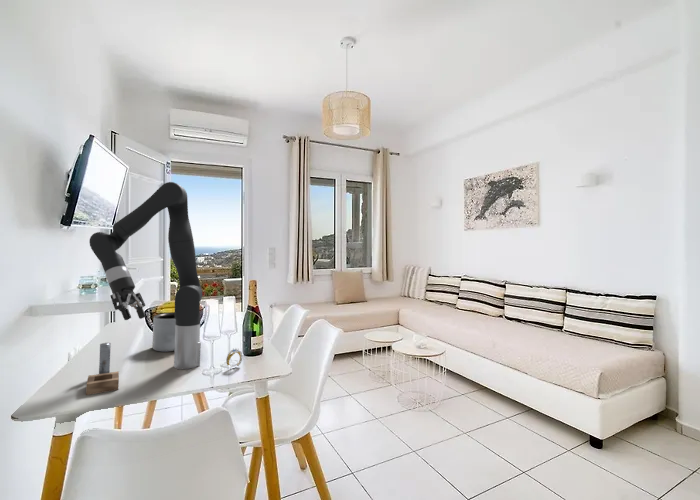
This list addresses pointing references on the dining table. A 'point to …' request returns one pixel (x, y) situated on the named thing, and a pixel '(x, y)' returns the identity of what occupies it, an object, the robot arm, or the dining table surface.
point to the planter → (164, 332)
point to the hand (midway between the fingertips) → (135, 318)
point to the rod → (104, 358)
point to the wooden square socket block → (102, 383)
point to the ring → (233, 354)
